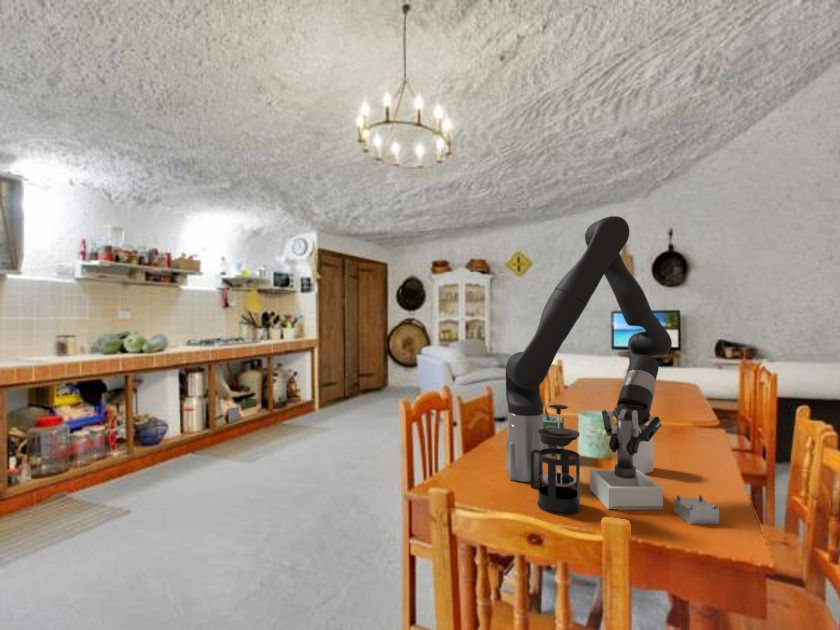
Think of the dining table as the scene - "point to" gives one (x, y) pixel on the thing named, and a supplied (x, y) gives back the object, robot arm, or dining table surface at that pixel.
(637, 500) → the bin
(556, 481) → the french press
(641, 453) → the jar
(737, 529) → the dining table surface
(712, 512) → the stud mount
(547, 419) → the chalk box
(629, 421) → the grey metal flanged cylinder
